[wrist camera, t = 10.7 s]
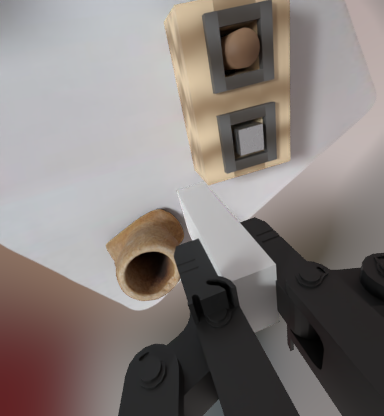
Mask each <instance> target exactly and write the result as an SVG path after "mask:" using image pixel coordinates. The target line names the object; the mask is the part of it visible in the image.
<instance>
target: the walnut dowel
mask: <svg viewBox="0 0 384 416" xmlns="http://www.w3.org/2000/svg"><path fill="white" fill-rule="evenodd" d="M220 40H221V48H222V56H223V65H224V71H226V70H233V69H239V68H246V67H248V66H250V65H252V64H253V63H254V62H255V60H256V59H257V57H258V54H259V49H260V43H259V39H258V36H257V34H256V33H255V32H254V31H253V30H252V29H250V28H241V29H239V30H237V31H234V32H232V33H230V34H228V35H226V36H224V37H222V38H220Z"/></svg>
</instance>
